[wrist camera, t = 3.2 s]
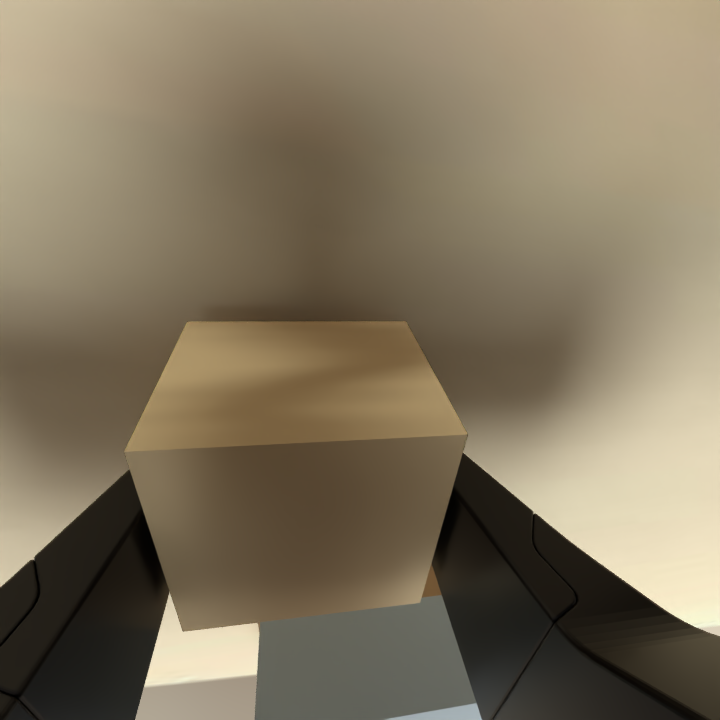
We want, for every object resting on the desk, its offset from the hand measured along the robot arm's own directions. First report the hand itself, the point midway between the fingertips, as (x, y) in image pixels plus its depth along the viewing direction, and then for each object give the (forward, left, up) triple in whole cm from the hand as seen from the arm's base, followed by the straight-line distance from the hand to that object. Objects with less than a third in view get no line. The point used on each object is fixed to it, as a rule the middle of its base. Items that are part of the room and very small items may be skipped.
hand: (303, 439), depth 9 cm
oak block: (0, 0, -1) cm, 1 cm away
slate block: (-2, +11, 0) cm, 11 cm away
